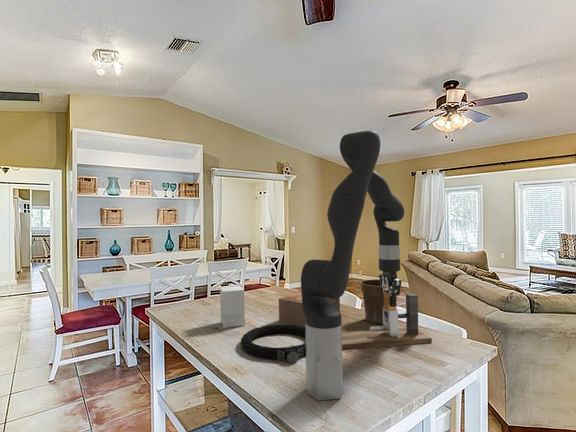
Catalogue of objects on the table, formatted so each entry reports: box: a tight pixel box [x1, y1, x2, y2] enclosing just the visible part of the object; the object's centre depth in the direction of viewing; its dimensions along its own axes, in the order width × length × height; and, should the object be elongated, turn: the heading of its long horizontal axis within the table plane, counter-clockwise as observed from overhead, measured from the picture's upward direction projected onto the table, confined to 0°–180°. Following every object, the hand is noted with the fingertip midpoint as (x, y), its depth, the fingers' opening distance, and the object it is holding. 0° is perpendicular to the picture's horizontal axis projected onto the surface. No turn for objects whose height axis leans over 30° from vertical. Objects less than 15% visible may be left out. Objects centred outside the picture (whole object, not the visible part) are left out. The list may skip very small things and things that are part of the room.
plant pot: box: [359, 279, 398, 325], centre depth 147 cm, size 16×16×16 cm
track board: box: [342, 293, 433, 350], centre depth 124 cm, size 12×34×16 cm, turn 98°
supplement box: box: [219, 285, 246, 329], centre depth 145 cm, size 9×9×15 cm
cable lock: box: [240, 323, 306, 364], centre depth 120 cm, size 28×4×30 cm
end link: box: [369, 292, 399, 337], centre depth 124 cm, size 6×9×15 cm, turn 98°
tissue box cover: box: [278, 292, 341, 327], centre depth 153 cm, size 26×14×10 cm, turn 140°
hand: (390, 304), depth 124 cm, fingers closed on end link, 4 cm apart
